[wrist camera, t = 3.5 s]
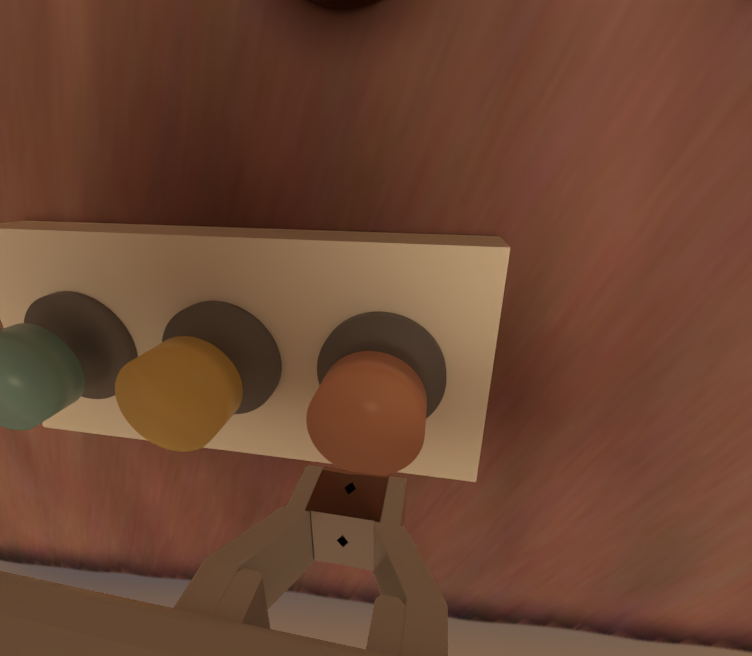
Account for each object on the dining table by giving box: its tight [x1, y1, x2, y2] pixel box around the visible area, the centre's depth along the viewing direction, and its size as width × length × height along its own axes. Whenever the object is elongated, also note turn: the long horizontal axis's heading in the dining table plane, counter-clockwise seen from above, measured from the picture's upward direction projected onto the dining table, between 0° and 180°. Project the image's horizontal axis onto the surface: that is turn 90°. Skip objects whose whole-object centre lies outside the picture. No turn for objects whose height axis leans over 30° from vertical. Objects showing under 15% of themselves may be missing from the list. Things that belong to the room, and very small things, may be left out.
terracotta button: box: [306, 351, 427, 475], centre depth 14 cm, size 4×4×2 cm
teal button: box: [0, 323, 85, 431], centre depth 17 cm, size 4×4×2 cm
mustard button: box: [115, 336, 243, 452], centre depth 16 cm, size 4×4×2 cm
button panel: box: [0, 220, 510, 482], centre depth 20 cm, size 26×12×4 cm, turn 89°
